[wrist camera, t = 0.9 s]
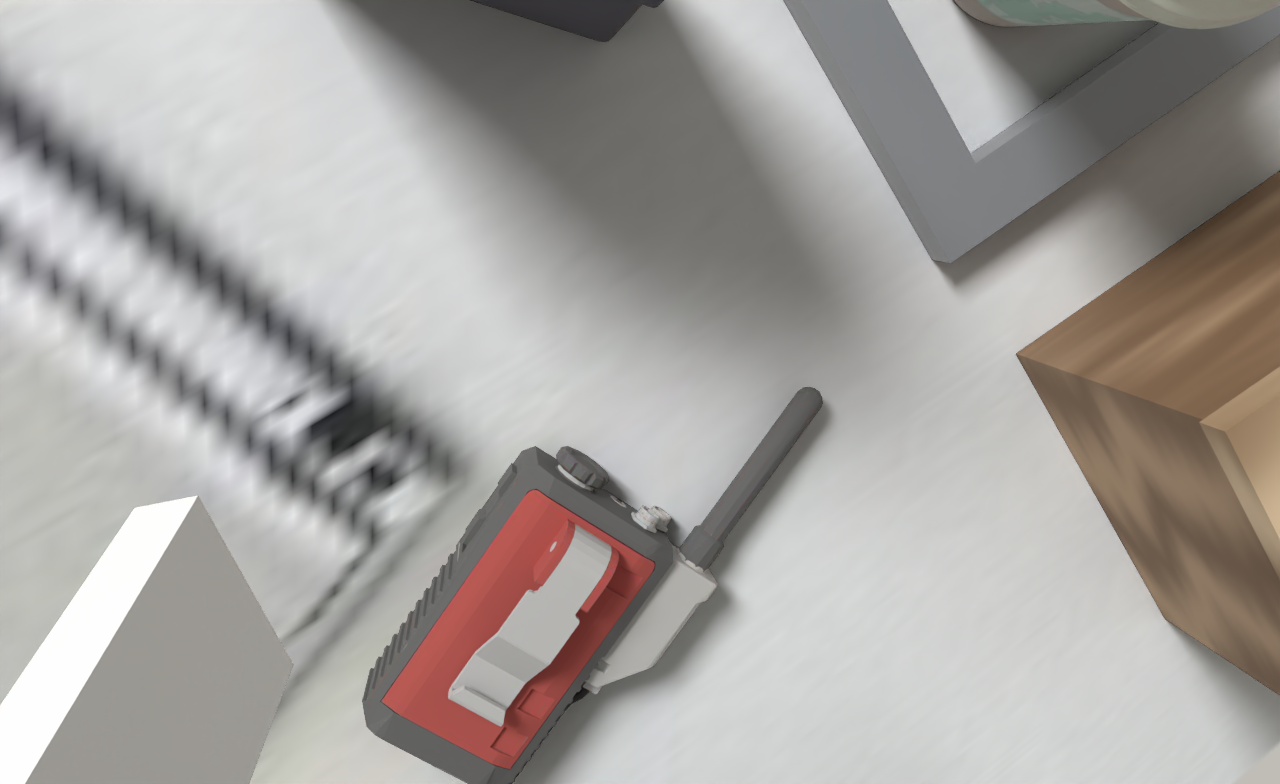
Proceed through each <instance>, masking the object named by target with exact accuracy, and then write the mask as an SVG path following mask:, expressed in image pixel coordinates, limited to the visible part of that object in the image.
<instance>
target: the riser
mask: <svg viewBox="0 0 1280 784" xmlns="http://www.w3.org/2000/svg"><path fill="white" fill-rule="evenodd" d="M1016 355H1017V357H1018V358H1019V360H1020V362H1021V364H1022V366H1023V367H1024V369H1025V371H1026V373H1027V374H1028V376H1029V378H1030V380H1031V382H1032V383H1033V385H1034V387H1035V389H1036V390H1037V392H1038V394H1039V396H1040V398H1041V399H1042V401H1043V403H1044V405H1045V406H1046V408H1047V410H1048V412H1049V414H1050V415H1051V417H1052V419H1053V421H1054V422H1055V424H1056V426H1057V428H1058V430H1059V431H1060V433H1061V435H1062V437H1063V438H1064V440H1065V442H1066V444H1067V446H1068V447H1069V449H1070V451H1071V453H1072V454H1073V456H1074V458H1075V460H1076V462H1077V463H1078V465H1079V467H1080V469H1081V470H1082V472H1083V474H1084V476H1085V478H1086V479H1087V481H1088V483H1089V485H1090V486H1091V488H1092V490H1093V492H1094V494H1095V495H1096V497H1097V499H1098V501H1099V502H1100V504H1101V506H1102V508H1103V510H1104V511H1105V513H1106V515H1107V517H1108V518H1109V520H1110V522H1111V524H1112V526H1113V527H1114V529H1115V531H1116V533H1117V534H1118V536H1119V538H1120V540H1121V542H1122V543H1123V545H1124V547H1125V549H1126V550H1127V552H1128V554H1129V556H1130V558H1131V559H1132V561H1133V563H1134V565H1135V566H1136V568H1137V570H1138V572H1139V574H1140V575H1141V577H1142V579H1143V581H1144V582H1145V584H1146V586H1147V588H1148V590H1149V591H1150V593H1151V595H1152V597H1153V598H1154V600H1155V602H1156V604H1157V606H1158V607H1159V609H1160V611H1161V613H1162V614H1163V616H1164V618H1165V619H1166V620H1168V621H1169V622H1171V623H1172V624H1174V625H1175V626H1176V627H1178V628H1179V629H1181V630H1182V631H1184V632H1185V633H1187V634H1188V635H1190V636H1191V637H1193V638H1194V639H1196V640H1197V641H1199V642H1200V643H1202V644H1203V645H1205V646H1206V647H1208V648H1209V649H1211V650H1212V651H1214V652H1215V653H1217V654H1218V655H1220V656H1221V657H1223V658H1224V659H1226V660H1227V661H1229V662H1230V663H1232V664H1233V665H1235V666H1236V667H1238V668H1239V669H1241V670H1242V671H1244V672H1245V673H1247V674H1248V675H1250V676H1251V677H1253V678H1254V679H1256V680H1257V681H1259V682H1260V683H1262V684H1263V685H1265V686H1266V687H1268V688H1269V689H1271V690H1272V691H1274V692H1275V693H1277V694H1278V695H1280V171H1279V172H1277V173H1276V174H1274V175H1273V176H1272V177H1270V178H1269V179H1267V180H1266V181H1264V182H1263V183H1261V184H1260V185H1259V186H1257V187H1256V188H1254V189H1253V190H1251V191H1250V192H1248V193H1247V194H1246V195H1244V196H1243V197H1241V198H1240V199H1238V200H1237V201H1235V202H1234V203H1233V204H1231V205H1230V206H1228V207H1227V208H1225V209H1224V210H1222V211H1221V212H1220V213H1218V214H1217V215H1215V216H1214V217H1212V218H1211V219H1210V220H1208V221H1207V222H1205V223H1204V224H1202V225H1201V226H1199V227H1198V228H1197V229H1195V230H1194V231H1192V232H1191V233H1189V234H1188V235H1186V236H1185V237H1184V238H1182V239H1181V240H1179V241H1178V242H1176V243H1175V244H1173V245H1172V246H1171V247H1169V248H1168V249H1166V250H1165V251H1163V252H1162V253H1161V254H1159V255H1158V256H1156V257H1155V258H1153V259H1152V260H1150V261H1149V262H1148V263H1146V264H1145V265H1143V266H1142V267H1140V268H1139V269H1137V270H1136V271H1135V272H1133V273H1132V274H1130V275H1129V276H1127V277H1126V278H1124V279H1123V280H1122V281H1120V282H1119V283H1117V284H1116V285H1114V286H1113V287H1112V288H1110V289H1109V290H1107V291H1106V292H1104V293H1103V294H1101V295H1100V296H1099V297H1097V298H1096V299H1094V300H1093V301H1091V302H1090V303H1088V304H1087V305H1086V306H1084V307H1083V308H1081V309H1080V310H1078V311H1077V312H1075V313H1074V314H1073V315H1071V316H1070V317H1068V318H1067V319H1065V320H1064V321H1063V322H1061V323H1060V324H1058V325H1057V326H1055V327H1054V328H1052V329H1051V330H1050V331H1048V332H1047V333H1045V334H1044V335H1042V336H1041V337H1039V338H1038V339H1037V340H1035V341H1034V342H1032V343H1031V344H1029V345H1028V346H1026V347H1025V348H1024V349H1022V350H1021V351H1019V352H1018V353H1016Z"/></svg>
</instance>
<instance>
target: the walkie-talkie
mask: <svg viewBox="0 0 1280 784" xmlns="http://www.w3.org/2000/svg"><path fill="white" fill-rule="evenodd" d="M822 404H823V401H822V396H821V394H820V392H819V391H818V390H816V389H815V388H812V387H804V388H802V389H800V390H799V391H798V392H797V393H796V395H795V396H794V398H793V399H792V400H791V402H790V403H789V404H788V406H787V407H786V409H785V410H784V411H783V413H782V414H781V415H780V417H779V418H778V420H777V421H776V422H775V424H774V425H773V426H772V428H771V429H770V431H769V432H768V433H767V435H766V436H765V437H764V439H763V440H762V442H761V443H760V444H759V446H758V447H757V448H756V450H755V451H754V452H753V454H752V455H751V457H750V458H749V459H748V461H747V462H746V463H745V465H744V466H743V468H742V469H741V470H740V472H739V473H738V474H737V476H736V477H735V479H734V480H733V481H732V483H731V484H730V485H729V487H728V488H727V490H726V491H725V492H724V494H723V495H722V496H721V498H720V499H719V501H718V502H717V503H716V505H715V506H714V507H713V509H712V510H711V512H710V513H709V514H708V516H707V517H706V518H705V520H704V521H703V523H702V524H701V525H699V526H695V528H694V529H693V530H692V532H691V533H690V535H689V536H688V537H687V539H686V540H685V541H684V543H683V544H682V546H681V547H680V548H678V547H676V546H674V545H673V544H671V543H670V541H669V539H668V537H667V535H666V533H665V532H667V531H668V529H667V527H666V526H667V524H668V523H669V521H670V520H671V517H670V516H669V514H667V513H666V512H665V511H664V510H662V509H661V508H659V507H657V506H653V508H652V509H649V508H648V507H646V506H642V507H641V508H640V509H639V511H637V510H636V509H634V508H633V507H631V506H629V505H628V504H626V503H625V502H623V501H622V500H620V499H618V498H617V497H615V496H614V495H612V494H610V493H609V492H607V491H606V490H604V489H603V488H604V487H605V485H606V484H607V482H608V481H609V479H608V475H607V473H606V471H605V470H604V469H602V468H601V467H600V466H599V465H598V464H597V463H596V462H595V461H593V460H592V459H591V458H589V457H588V456H586V455H585V454H583V453H582V452H580V451H578V450H576V449H573V448H571V447H568V446H566V447H562V448H561V449H560V450H559V452H558V453H557V455H556V457H557V459H555V458H554V457H552V456H550V455H549V454H547V453H545V452H544V451H542V450H541V449H539V448H538V447H536V446H535V447H532V448H529V449H526V450H524V451H522V452H521V453H520V455H519V456H518V458H517V459H516V460H515V462H514V463H513V464H512V463H511V465H510V466H509V468H508V469H507V471H506V472H505V473H504V475H503V476H502V478H501V479H500V481H499V482H498V486H497V488H496V489H495V491H494V492H493V493H492V495H491V496H490V498H489V499H488V501H487V502H486V504H485V505H484V506H483V508H482V509H479V511H478V512H477V514H476V515H475V517H474V518H473V519H472V521H471V522H470V524H469V525H468V527H467V528H466V532H465V534H464V535H463V537H462V538H461V540H460V541H459V542H458V544H457V545H456V551H455V553H454V554H450V555H449V557H448V563H447V564H446V566H445V565H442V567H441V568H440V574H439V576H438V577H434V578H433V580H432V586H431V587H430V589H428V588H426V590H425V591H424V597H423V599H422V600H418V601H417V603H416V608H415V610H414V612H412V611H410V613H409V614H408V619H407V622H406V623H402V624H401V626H400V630H399V633H398V635H397V634H394V636H393V637H392V642H391V645H390V646H386V647H385V649H384V653H383V656H382V657H378V659H377V661H376V665H375V668H374V669H373V668H371V669H370V672H369V676H368V680H367V684H366V688H365V692H364V696H363V700H362V702H363V708H364V714H365V720H366V725H367V727H368V728H369V729H370V730H371V731H372V732H373V733H374V734H375V735H376V736H378V737H379V738H381V739H383V740H385V741H387V742H388V743H390V744H392V745H394V746H396V747H398V748H400V749H402V750H404V751H406V752H408V753H410V754H412V755H414V756H415V757H417V758H419V759H421V760H423V761H425V762H427V763H429V764H431V765H433V766H435V767H437V768H439V769H441V770H442V771H444V772H446V773H448V774H450V775H452V776H454V777H456V778H458V779H460V780H462V781H464V782H466V783H467V784H512V782H514V781H515V778H516V777H517V776H518V774H519V773H520V772H522V770H523V767H524V766H525V765H526V763H527V762H528V761H530V759H531V758H532V755H533V754H534V752H535V751H536V750H537V749H538V748H539V747H540V744H541V743H542V741H543V740H544V738H546V737H547V736H548V733H549V732H550V730H551V729H552V727H554V726H555V725H556V722H557V721H558V719H559V718H560V717H561V715H563V714H564V712H565V710H566V709H567V708H568V707H569V706H570V705H571V704H572V703H574V702H576V701H578V700H580V699H582V698H583V697H584V696H585V695H586V694H587V693H589V691H591V692H593V693H594V694H596V695H597V693H598V692H599V691H600V689H601V688H602V687H603V685H606V684H609V683H611V682H614V681H617V680H619V679H622V678H625V677H628V676H630V675H633V674H636V673H638V672H641V671H644V670H647V669H649V668H652V667H653V666H654V665H655V664H656V663H657V662H658V660H659V659H660V658H661V656H662V655H663V653H664V652H665V651H666V649H667V648H668V647H669V645H670V644H671V643H672V641H673V640H674V639H675V637H676V636H677V634H678V633H679V632H680V630H681V629H682V628H683V626H684V625H685V624H686V622H687V621H688V620H689V618H690V617H691V616H692V614H693V613H694V611H695V610H696V609H697V607H698V606H699V605H700V604H701V603H703V602H705V601H707V600H708V599H709V598H710V596H711V595H712V593H713V592H714V591H715V589H716V588H717V587H718V584H717V582H716V580H715V578H714V577H713V575H712V573H711V571H710V569H709V566H710V565H711V564H712V562H713V561H714V559H715V558H716V557H717V555H718V554H719V553H720V551H721V550H722V549H723V547H724V543H723V541H724V539H725V538H726V537H727V535H728V534H729V533H730V531H731V530H732V528H733V527H734V526H735V524H736V523H737V522H738V520H739V519H740V518H741V516H742V515H743V513H744V512H745V511H746V509H747V508H748V507H749V505H750V504H751V502H752V501H753V500H754V498H755V497H756V496H757V494H758V493H759V492H760V490H761V489H762V487H763V486H764V485H765V483H766V482H767V481H768V479H769V478H770V477H771V475H772V474H773V472H774V471H775V470H776V468H777V467H778V466H779V464H780V463H781V461H782V460H783V459H784V457H785V456H786V455H787V453H788V452H789V451H790V449H791V448H792V446H793V445H794V444H795V442H796V441H797V440H798V438H799V437H800V435H801V434H802V433H803V431H804V430H805V429H806V427H807V426H808V425H809V423H810V422H811V420H812V419H813V418H814V416H815V415H816V414H817V412H818V411H819V410H820V408H821V407H822Z"/></svg>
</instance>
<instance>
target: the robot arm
mask: <svg viewBox="0 0 1280 784" xmlns="http://www.w3.org/2000/svg"><path fill="white" fill-rule="evenodd" d="M292 668H293V663H292V661H291V659H290V658H289V656H288V654H287V652H286V651H285V649H284V647H283V645H282V643H281V642H280V640H279V638H278V636H277V635H276V633H275V631H274V629H273V627H272V626H271V624H270V622H269V620H268V619H267V617H266V615H265V613H264V612H263V610H262V608H261V606H260V604H259V603H258V601H257V599H256V597H255V596H254V594H253V592H252V590H251V588H250V587H249V585H248V583H247V581H246V580H245V578H244V576H243V574H242V572H241V571H240V569H239V567H238V565H237V564H236V562H235V560H234V558H233V557H232V555H231V553H230V551H229V549H228V548H227V546H226V544H225V542H224V541H223V539H222V537H221V535H220V533H219V532H218V530H217V528H216V526H215V525H214V523H213V521H212V519H211V517H210V516H209V514H208V512H207V510H206V509H205V507H204V505H203V503H202V502H201V500H200V498H199V496H193V497H188V498H183V499H178V500H173V501H167V502H162V503H157V504H152V505H147V506H141V507H136V508H134V510H133V511H132V513H131V514H130V516H129V517H128V519H127V520H126V522H125V523H124V524H123V526H122V527H121V529H120V530H119V532H118V533H117V535H116V536H115V538H114V539H113V541H112V542H111V544H110V545H109V547H108V548H107V549H106V551H105V552H104V554H103V555H102V557H101V558H100V560H99V561H98V563H97V564H96V566H95V567H94V569H93V570H92V571H91V573H90V574H89V576H88V577H87V579H86V580H85V582H84V583H83V585H82V586H81V588H80V589H79V591H78V592H77V594H76V595H75V596H74V598H73V599H72V601H71V602H70V604H69V605H68V607H67V608H66V610H65V611H64V613H63V614H62V616H61V617H60V619H59V620H58V621H57V623H56V624H55V626H54V627H53V629H52V630H51V632H50V633H49V635H48V636H47V638H46V639H45V641H44V642H43V643H42V645H41V646H40V648H39V649H38V651H37V652H36V654H35V655H34V657H33V658H32V660H31V661H30V663H29V664H28V666H27V667H26V668H25V670H24V671H23V673H22V674H21V676H20V677H19V679H18V680H17V682H16V683H15V685H14V686H13V688H12V689H11V690H10V692H9V693H8V695H7V696H6V698H5V699H4V701H3V702H2V704H1V705H0V784H249V783H250V780H251V778H252V775H253V772H254V769H255V767H256V764H257V761H258V759H259V756H260V753H261V751H262V748H263V745H264V743H265V740H266V737H267V735H268V732H269V729H270V727H271V724H272V721H273V719H274V716H275V713H276V711H277V708H278V705H279V702H280V700H281V697H282V694H283V692H284V689H285V686H286V684H287V681H288V678H289V676H290V673H291V670H292Z"/></svg>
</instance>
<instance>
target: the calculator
mask: <svg viewBox="0 0 1280 784" xmlns="http://www.w3.org/2000/svg"><path fill="white" fill-rule="evenodd" d="M471 1H474V2H477V3H480V4H483V5H487V6H490V7H493V8H496V9H499V10H502V11H505V12H509V13H512V14H515V15H518V16H521V17H524V18H527V19H531V20H534V21H537V22H540V23H543V24H546V25H549V26H553V27H556V28H559V29H562V30H565V31H568V32H571V33H575V34H578V35H581V36H584V37H587V38H590V39H593V40H597V41H601V42H607V41H609V40H610V39H611V38H612V37H613V36H614V35H615V34H616V33H617V32H618V31H619V30H620V28H621V27H622V26H623V25H624V24H625V23H626V22H627V21H628V20H629V19H630V17H631V16H632V15H633V14H634V13H635V12H636V11H637V10H638V9H639V7H640V6H641V5H642V4H643V5H646V6H649V7H653V8H655V7H657V6H659V5H660V4H661V3H662V2H663V1H664V0H471Z"/></svg>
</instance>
